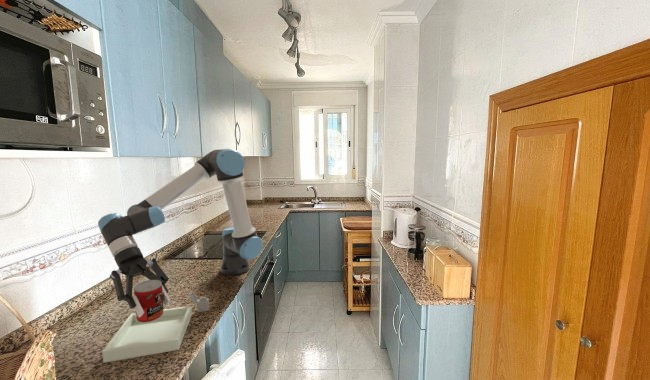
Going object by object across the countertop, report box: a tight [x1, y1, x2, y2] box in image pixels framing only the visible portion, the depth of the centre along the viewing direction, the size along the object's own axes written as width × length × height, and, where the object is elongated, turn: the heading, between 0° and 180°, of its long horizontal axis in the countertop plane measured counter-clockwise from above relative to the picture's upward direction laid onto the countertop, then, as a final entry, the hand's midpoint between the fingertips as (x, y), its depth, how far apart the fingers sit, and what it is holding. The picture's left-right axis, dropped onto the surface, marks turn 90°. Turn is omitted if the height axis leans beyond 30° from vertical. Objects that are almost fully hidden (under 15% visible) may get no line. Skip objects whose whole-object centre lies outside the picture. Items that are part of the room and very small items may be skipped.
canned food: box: [133, 279, 164, 322], centre depth 89 cm, size 8×8×11 cm
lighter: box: [187, 291, 210, 313], centre depth 105 cm, size 7×2×8 cm, turn 106°
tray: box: [101, 305, 193, 363], centre depth 91 cm, size 20×20×4 cm
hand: (155, 308), depth 88 cm, fingers closed on canned food, 8 cm apart
